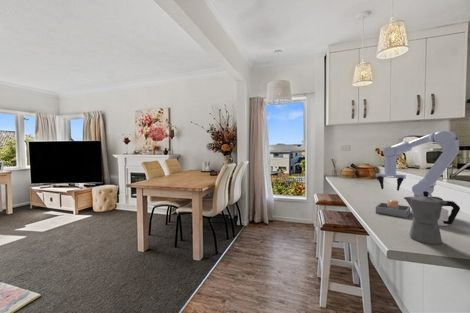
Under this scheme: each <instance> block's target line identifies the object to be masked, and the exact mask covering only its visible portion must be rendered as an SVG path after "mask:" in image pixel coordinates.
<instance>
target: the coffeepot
mask: <svg viewBox="0 0 470 313" xmlns="http://www.w3.org/2000/svg"><path fill="white" fill-rule="evenodd" d="M428 193H429V192H427V191H424V192H423V194H424V196H419V197H414V196H405V197H403V199H404V200H405V201H406V202H407V203H408V205H409V207H410V209H411V213H412V216H413V220H412V223H411V228H410V231H409V237H410V238H411V239H412V240H414V241H416V242H419V243H423V244H428V245H436V246H437V245H441V244H443V239H442V235H441V230H440V226H439V225H438V219H439V218H440V214H441V209H442V208H443V207H451V208H452V209H451V211H450V214H449V215H448V221H443V223H444V224H448V225H452V224H453V223H454V222H455V219H456V218H457V216H458V214H459V212H460V210H461V207H460V206H459V205H458V204H457V203H456V202H455V201H453V200H445V199H444V200H439V199H435V198H432V197H428ZM442 206H443V207H442Z"/></svg>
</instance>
